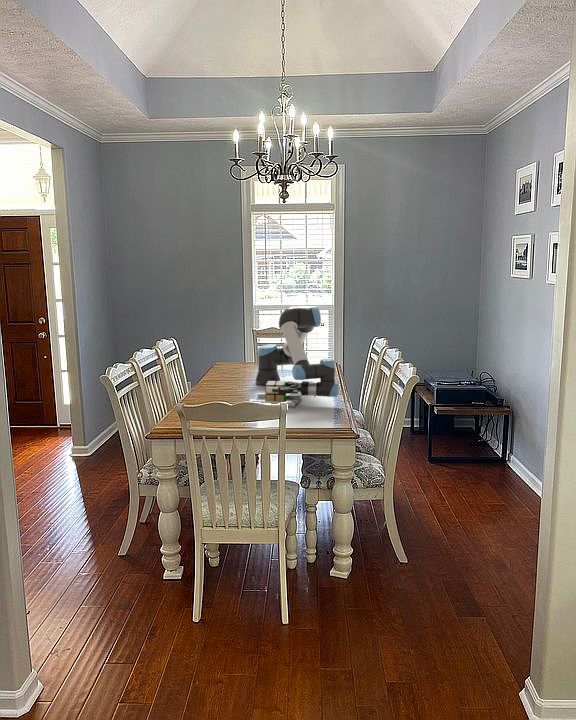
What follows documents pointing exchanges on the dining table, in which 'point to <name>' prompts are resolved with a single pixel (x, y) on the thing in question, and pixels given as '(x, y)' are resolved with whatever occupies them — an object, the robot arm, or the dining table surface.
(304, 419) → the dining table surface
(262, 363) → the robot arm
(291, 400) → the rail base
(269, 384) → the puzzle cube
